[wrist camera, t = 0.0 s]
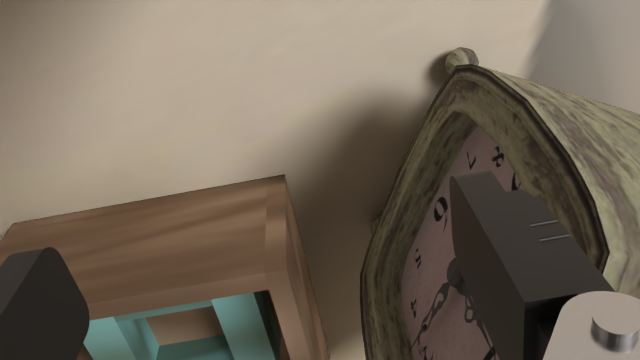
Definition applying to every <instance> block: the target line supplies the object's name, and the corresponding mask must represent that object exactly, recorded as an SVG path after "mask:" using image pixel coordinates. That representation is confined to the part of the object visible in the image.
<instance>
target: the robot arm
mask: <svg viewBox="0 0 640 360" xmlns="http://www.w3.org/2000/svg"><path fill="white" fill-rule="evenodd" d="M449 190H450V207H451V225H452V241H453V248H454V253H455V257H456V261H457V264H458V267H459V270H460V272H461V274H462V276H463V279H464V281H465V283H466V285H467V288H468V290H469V292H470V294H471V297H472V299H473V301H474V304H475V306H476V308H477V310H478V313H479V315H480V317H481V319H482V322H483V324H484V326H485V328H486V331H487V333H488V335H489V337H490V340H491V342H492V344H493V346H494V349H495V351H496V353H497V355H498V358H499V360H640V299H638V298H635V297H633V296H629V295H626V294H622V293H617V292H615V290H614V289H613V288H612V287H611V285H610V284H609V283H608V281H607V280H606V279H605V278H604V276H603V275H602V274H601V273H600V271H599V270H598V269H597V268H596V266H595V265H594V264H593V263H592V261H591V260H590V259H589V258H588V256H587V255H586V254H585V252H584V251H583V250H582V249H581V247H580V246H579V245H578V244H577V242H576V241H575V240H574V239H573V237H570V235H569V232H568V231H567V230H566V229H565V227H564V226H563V225H562V223H561V222H560V223H559V222H558V218H557V217H556V216H555V215H554V213H553V212H552V211H551V210H550V208H549V207H548V206H547V205H546V203H545V202H544V201H542V200H540V199H539V198H537V197H535V196H533V195H531V194H530V193H528V192H526V191H524V190H523V189H519V190H514V191H508V192H506V191H505V190H504V188H503V187H502V185H501V184H500V182H499V181H498V180H497V178H496V177H495V175H494V174H493V172H492V171H491V170H490V169H486V170H481V171H475V172H469V173H464V174H458V175H453V176H451V177H450V181H449ZM89 322H90V317H89V309H88V306H87V303H86V301H85V299H84V297H83V295H82V293H81V291H80V290H79V288H78V286H77V284H76V282H75V280H74V278H73V277H72V275H71V273H70V271H69V269H68V267H67V265H66V264H65V262H64V260H63V258H62V256H61V255H60V253H59V252H58V251H57V250H56V249H55V248H53V247H46V248H40V249H35V250H29V251H24V252H18V253H13V254H11V255H9V256H8V257H7V258H6V260H5V261H4V262H3V264H2V265H1V267H0V360H76V359H77V356H78V354H79V352H80V349H81V347H82V345H83V342H84V340H85V338H86V335H87V333H88V329H89Z"/></svg>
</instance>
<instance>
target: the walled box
mask: <svg viewBox="0 0 640 360" xmlns="http://www.w3.org/2000/svg"><path fill="white" fill-rule="evenodd" d="M46 247H53V248H55V249H56V250H57V251H58V252H59V253H60V255H61V256H62V258H63V260H64V262H65V264H66V265H67V267H68V269H69V271H70V273H71V275H72V277H73V278H74V280H75V282H76V284H77V286H78V288H79V290H80V291H81V293H82V295H83V297H84V299H85V301H86V303H87V306H88V309H89V317H90V322H89V329H88V333H87V335H86V338H85V340H84V342H83V345H82V347H81V349H80V352H79V354H78V356H77V359H76V360H330V358H329V353H328V349H327V345H326V341H325V337H324V333H323V329H322V325H321V321H320V317H319V313H318V308H317V304H316V300H315V296H314V292H313V288H312V284H311V280H310V276H309V272H308V268H307V263H306V259H305V255H304V251H303V247H302V243H301V239H300V235H299V231H298V227H297V223H296V218H295V214H294V210H293V206H292V202H291V198H290V194H289V190H288V186H287V182H286V178H285V175H279V176H274V177H268V178H262V179H257V180H251V181H246V182H240V183H235V184H229V185H224V186H218V187H213V188H207V189H202V190H196V191H191V192H185V193H179V194H174V195H168V196H163V197H157V198H152V199H146V200H141V201H135V202H130V203H124V204H119V205H113V206H108V207H102V208H97V209H91V210H85V211H80V212H74V213H69V214H63V215H58V216H52V217H47V218H41V219H36V220H30V221H25V222H19V223H14V224H13V225H12V226H11V228H10V229H9V231H8V232H7V233H6V235H5V236H4V238H3V239H2V240H1V242H0V267H1V265H2V264H3V262H4V261H5V260H6V258H7V257H8V256H9V255H11V254H13V253H18V252H24V251H29V250H35V249H40V248H46Z"/></svg>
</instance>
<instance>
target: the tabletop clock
mask: <svg viewBox="0 0 640 360" xmlns="http://www.w3.org/2000/svg"><path fill="white" fill-rule="evenodd" d="M478 64H479V61H478V58H477V56H476V54H475V52H474V51H473V50H471V49H468V48H462V47H461V48H457V49H455V50H453V51H452V52H450V54H449V55H448V56H447V58H446V63H445V68H446V71H447V72H448V74H449V77H448V78H447V79H446V81H445V82H444V84H443V85H442V86H441V88H440V90H439V92H438V93H437V95H436V97H435V98H434V100H433V102H432V104H431V106H430V108H429V110H428V112H427V114H426V116H425V118H424V120H423V122H422V124H421V126H420V128H419V130H418V132H417V134H416V136H415V138H414V140H413V142H412V144H411V146H410V148H409V150H408V152H407V155H406V157H405V159H404V161H403V163H402V165H401V167H400V169H399V171H398V173H397V176H396V178H395V181H394V183H393V185H392V188H391V190H390V193H389V195H388V198H387V200H386V202H385V205H384V207H383V210H382V212H381V215H380V217H379V218H378V219H376V220H375V221H374V222H373V224H372V228H371V233H372V237H371V240H370V243H369V246H368V249H367V252H366V256H365V259H364V263H363V267H362V270H361V274H360V308H361V322H362V332H363V340H364V348H365V355H366V360H499V358H498V355H497V353H496V351H495V349H494V346H493V344H492V342H491V340H490V337H489V335H488V333H487V331H486V328H485V326H484V324H483V322H482V319H481V317H480V315H479V313H478V310H477V308H476V306H475V304H474V301H473V299H472V297H471V294H470V292H469V290H468V288H467V285H466V283H465V281H464V279H463V276H462V274H461V272H460V270H459V267H458V264H457V261H456V257H455V253H454V248H453V241H452V225H451V207H450V190H449V181H450V177H451V176H453V175H458V174H464V173H469V172H475V171H481V170H486V169H490V170H491V171H492V172H493V174H494V175H495V177H496V178H497V180H498V181H499V182H500V184H501V185H502V187H503V188H504V190H505V191H506V192H508V191H514V190H519V189H523V190H524V191H526V192H528V193H530V194H531V195H533V196H535V197H537V198H539V199H540V200H542V201H544V202H545V203H546V205H547V206H548V207H549V208H550V210H551V211H552V212H553V213H554V215H555V216H556V217H557V218H558V222H559V223H560V222H561V223H562V225H563V226H564V227H565V229H566V230H567V231H568V232H569V235H570V237H573V239H574V240H575V241H576V242H577V244H578V245H579V246H580V247H581V249H582V250H583V251H584V252H585V254H586V255H587V256H588V258H589V259H590V260H591V261H592V263H593V264H594V265H595V266H596V268H597V269H598V270H599V271H600V273H601V274H602V275H603V276H604V278H605V279H606V280H607V281H608V283H609V284H610V285H611V287H612V288H613V289H614V290H615V292H617V293H622V294H626V295H629V296H633V297H635V298H638V299H640V114H637V113H634V112H631V111H627V110H625V109H622V108H618V107H615V106H611V105H608V104H605V103H601V102H598V101H595V100H591V99H588V98H585V97H581V96H578V95H575V94H571V93H568V92H564V91H561V90H558V89H555V88H551V87H548V86H545V85H541V84H538V83H534V82H531V81H528V80H524V79H521V78H518V77H514V76H511V75H508V74H504V73H501V72H498V71H494V70H491V69H488V68H484V67H481V66H478Z"/></svg>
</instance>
